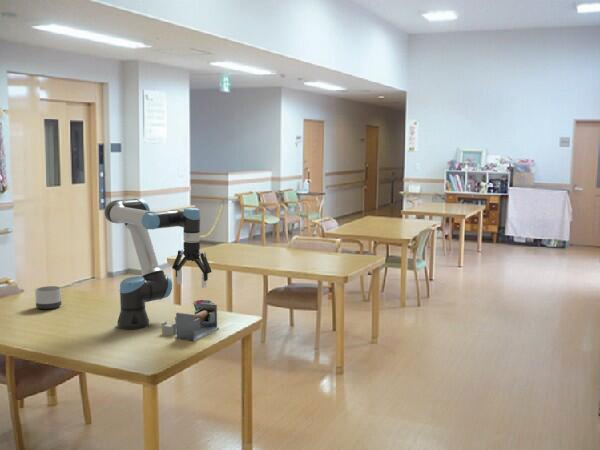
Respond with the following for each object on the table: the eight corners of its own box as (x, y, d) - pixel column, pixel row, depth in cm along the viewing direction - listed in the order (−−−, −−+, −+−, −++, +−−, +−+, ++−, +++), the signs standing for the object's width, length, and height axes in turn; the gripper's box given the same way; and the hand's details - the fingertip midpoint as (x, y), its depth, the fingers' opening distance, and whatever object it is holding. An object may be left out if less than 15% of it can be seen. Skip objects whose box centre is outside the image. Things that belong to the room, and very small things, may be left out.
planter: (44, 304, 349) (43, 285, 348) (65, 305, 348) (65, 286, 346) (31, 310, 337) (30, 291, 336) (53, 311, 335) (52, 291, 334)
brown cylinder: (192, 328, 287) (192, 318, 286) (184, 326, 289) (184, 317, 288) (209, 319, 301) (209, 310, 300) (201, 318, 302) (201, 309, 302)
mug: (199, 326, 307) (199, 305, 306) (189, 322, 314) (189, 301, 313) (220, 322, 315) (219, 301, 314) (209, 318, 322) (209, 298, 321)
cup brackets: (176, 338, 288) (176, 313, 286) (201, 326, 307) (200, 302, 305) (193, 341, 284) (193, 315, 283) (217, 328, 303) (216, 304, 302)
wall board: (174, 338, 288) (174, 336, 288) (199, 326, 307) (199, 324, 307) (195, 341, 284) (195, 339, 284) (219, 329, 303) (219, 327, 303)
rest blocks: (161, 333, 295) (161, 323, 294) (178, 326, 308) (178, 315, 307) (173, 335, 292) (173, 324, 292) (189, 327, 305) (189, 317, 305)
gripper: (164, 239, 294) (164, 284, 297) (210, 244, 285) (210, 290, 288) (173, 237, 301) (173, 280, 304) (219, 242, 291) (218, 287, 295)
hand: (191, 285), depth 296 cm, fingers open, 13 cm apart
